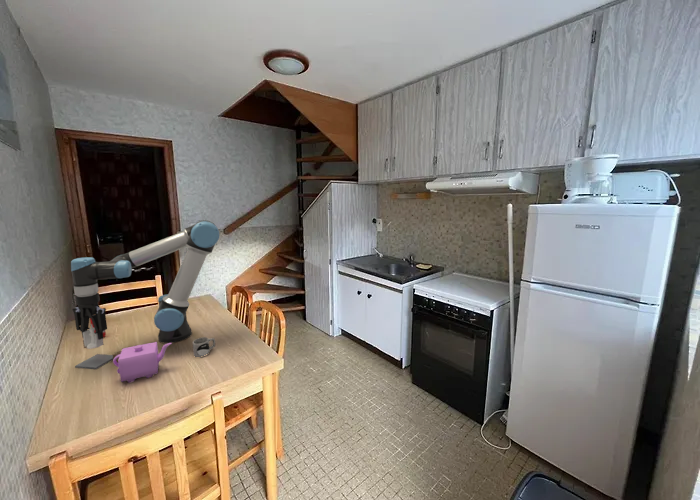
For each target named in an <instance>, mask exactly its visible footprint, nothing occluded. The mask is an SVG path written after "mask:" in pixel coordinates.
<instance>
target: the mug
mask: <svg viewBox="0 0 700 500" xmlns="http://www.w3.org/2000/svg"><path fill="white" fill-rule="evenodd" d="M210 342H212V345H211V346H210ZM215 347H216V339H215V338H214V337H211V338H208V337H199V338H195V339H194V340H192V350H193V351H192V352H193V357H194V356H195V357H194V358H196V357H200V358H202V357H201V356H204V355H206V354H208V353H209V352H210V351H211V350H212V349H214V348H215ZM209 354H210V353H209ZM209 354H208V355H209ZM204 357H205V356H204Z"/></svg>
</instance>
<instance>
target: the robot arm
mask: <svg viewBox="0 0 700 500" xmlns="http://www.w3.org/2000/svg"><path fill="white" fill-rule="evenodd" d="M219 239H220V229H218V227H217V226H216V224H215V223H213V222H212V221H210V220H206V219H205V220H200V221H197V222H196V223H194V224H193V225H190V226H188V227H185V228H184V229H183V231H181V232H178V233H176V234H173V235H171V236H167V237H165V238H162V239H160V240H158V241H155V242H152V243H149V244H147V245H144V246H142V247H139V248H137V249H134V250H131V251H129V252H126V253H123V254H120V255H117V256H115V257H114V258H112V259H111V260H110V261H96V259H95V258H94V257H92V256H91V257H87V256H85V257H77V258H74V259H72V260H71V261H70V272H71V275H72V276H71V277H72V282H73V290H74V295H75V304H76V305H77V307H73V308H72V312H73V315H74V321H75V328H76V330H77V331H80V332H81V336H82V339H83V340H84V344H83V347H84V346H85V347H86V346H87V345H88V344H90V343H91V335H89V334H90V333H91V332H90V331H89V329H90V328H91V327H89V325H90V318H91V320H92V323H93V325H94V328H95V331H96V332H95V333H94V335H95V343H96V348H100V347H101V346H103V345H104V338H103V331H104V330H105V331H106V330H108V324H107V317H106V311H107V308H106V307H103V308H102V307H100V305H99V302H100V300H101V299H100V293H99V284H98V280H108V279H109V280H111V279H113V280H114V279H123V278H129V277H131V276H132V272H133V271H132V270H133V269H134V268H137V267H139V266H141V265H144V264H146V263H149V262H151V261H154V260H157V259H159V258H161V257H164V256H166V255H170V254H172V253H174V252H176V251H180V250H181V249H184V248H186V247H187V251H186V252H185V255H184V257H183V260H182V262H181V264H180V265H179V269H178V271H177V274H176V275H175V279H174V281H173V282H172V285H171V287H170V290H169V292H168V294H162V295H160V296H159V297H158V299H157V302H158V308H157V310H156V314H155V315H154V317H153V321H154V322H153V323H154V326H155V327H156V328H157V329H158V330H159V332H158V335H157V338H158V342H159V343H162V344H167V343H172V344H173V343H174V344H175V343H178V342H182V341H185V340H186V339H188V338H190V337H191V336H192V335H193V334H192V332H193V331H192V328H191V327H190V324H189V322H188V319H187V312H188V309H189V306H190V303H189V298H190V296H191V293H192V292H193V289H194V286H195V284H196V281H197V279H198V277H199V275H200V272H201V270H202V268H203V265H204V263H205V260H206V258H207V256H208V255H210V254H211V253H213V250H214V248H215V246H216V244H217V243H218V241H219ZM92 315H93V316H92Z"/></svg>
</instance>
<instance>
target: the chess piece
mask: <svg viewBox="0 0 700 500" xmlns="http://www.w3.org/2000/svg"><path fill="white" fill-rule="evenodd" d="M89 325H90V327H89V328H90V329H88V330H89V331H90V332H91V333H90V334H89V335H91V343H90V344H88V345H87V348H86V349H88V350H90V349H91V350H92V349H95V348H97V347H96V343H95V336H94V330H95V328H93V326H92V324H91V323H90V324H89Z"/></svg>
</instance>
